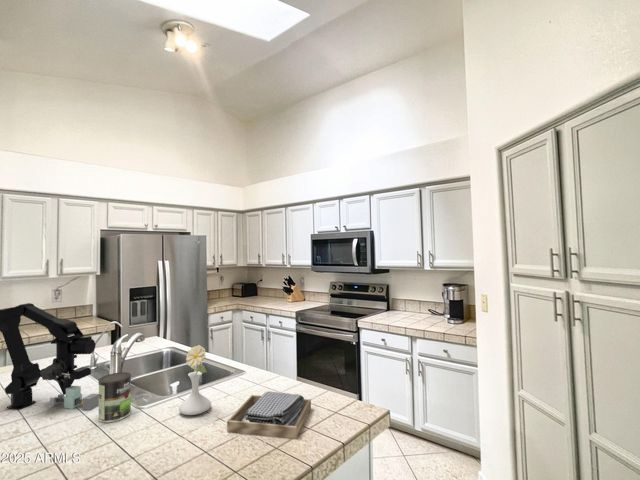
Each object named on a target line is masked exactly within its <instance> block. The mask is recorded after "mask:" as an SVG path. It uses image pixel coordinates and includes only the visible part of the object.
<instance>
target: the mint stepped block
mask: <svg viewBox="0 0 640 480" xmlns="http://www.w3.org/2000/svg"><path fill="white" fill-rule="evenodd" d="M81 388H82V387H81V386H80V385H71V386H70V387H68V388H66V395H65V396H64V403H63V407H64V409H70V410H73V409H75V408H77V407H79V406H82V404H76V403H75V399H83V394H82V391H81V390H82V389H81Z"/></svg>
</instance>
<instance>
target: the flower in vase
mask: <svg viewBox="0 0 640 480" xmlns="http://www.w3.org/2000/svg"><path fill="white" fill-rule="evenodd" d="M205 358H206V349H205V347H203V346H202V345H200V344H198V345H197V346H196V345H194V346H192V347H191V348H190V350H188V353H187V354H186V358H185V361H186V363H185V364H186V365H187V366H188V367H190V368H191V369H193V370H195V371H193V372H189V373H188V374H187V376H188V377H189V378H190V381H191V393H190V395H189V396H188V397H187V398H185V399H184V400H183V402H182V403H181V404H180V405H179V408H178V411H179V413H180V414H182V415H186V416H193V415H199V414H202V413H205V412H206V411H208V410H210V408H211V406H212V402H211V400H210V399H209V398H207V397H206V396H204V395H203V394H201V393H200V391H199V390H200V389H199V381H200V378H201V376H202V375H203V374H204V373H208V371H207V369H206V366H205V365H201V364H202V363H203V361H204V359H205ZM198 366H199V367H198ZM197 367H198V368H197Z"/></svg>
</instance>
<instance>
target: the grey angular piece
mask: <svg viewBox="0 0 640 480" xmlns="http://www.w3.org/2000/svg"><path fill="white" fill-rule="evenodd" d="M64 397H65V395H63V393H60V394H57V396H55V397H51V398H49V405H47V406H46V407H45V409H46V410H47V409H50V410H52V409H53V408H55V407H57V405H58V406H60V405H62V404H64ZM75 403H76V404H81V406H82V411H91V410H93V409H95V408H97V407H99V393H90V394H89V395H87V396H84V397H82V399H75Z"/></svg>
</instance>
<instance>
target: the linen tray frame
mask: <svg viewBox="0 0 640 480" xmlns="http://www.w3.org/2000/svg"><path fill="white" fill-rule="evenodd" d="M261 396H262V395H258V394H257V395H256V394H251V395H250V396H249V398H248V399H247V400H246V401H245V402H243V404H242V405H241V406H240V407H239V408H238V409H237V410H236V411H235V412H234V414H232V416H230V418H228V420H227V421H226V427H227V428H226V430H227V431H226V432H227V433H233V434H245V435H254V436H264V437H272V438H281V439H282V438H284V439H295V440H297V438H298V437H299V435H300V433H301V430H302V429H303V426H304V425H305V422H306V420H307V418H308V416H309V415H310V412H311V411H312V410H311V409H312V399H310V398H304V402H303V405H304V409H303V411H302V413H301V415H300V417H299V419H298V420H297V422H296V423H295V425H294V426H287V425H276V424H266V423H255V422H250V421H242V420H241V419H242V418H243V417H244V416H245V415H246V412H247V410H248V409H249V408H250V407H251V406H253V405H254V404H255V403H256V402H257V401H258V399H259V398H260V397H261Z"/></svg>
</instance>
